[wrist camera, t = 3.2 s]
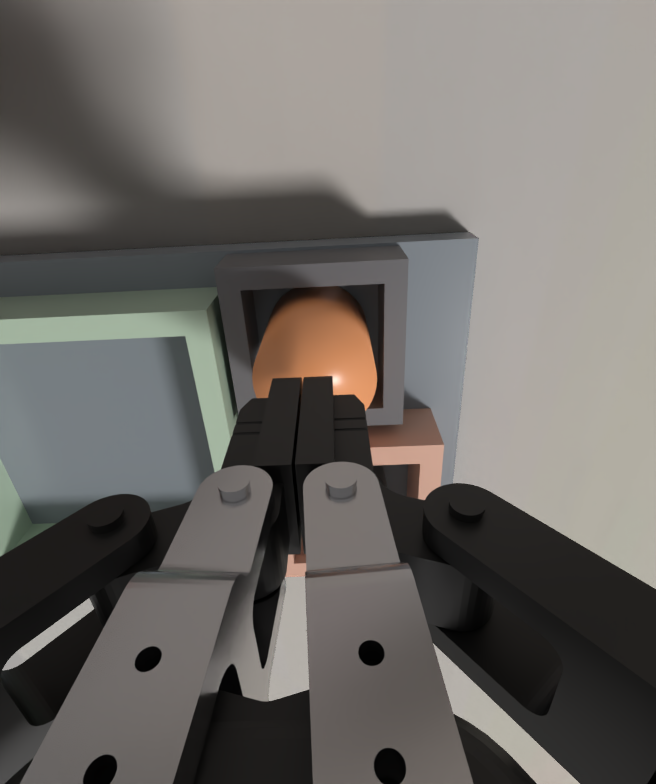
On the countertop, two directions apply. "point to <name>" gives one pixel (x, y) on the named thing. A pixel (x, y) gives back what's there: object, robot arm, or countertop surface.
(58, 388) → the divided organizer tray
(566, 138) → the countertop surface
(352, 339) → the button
